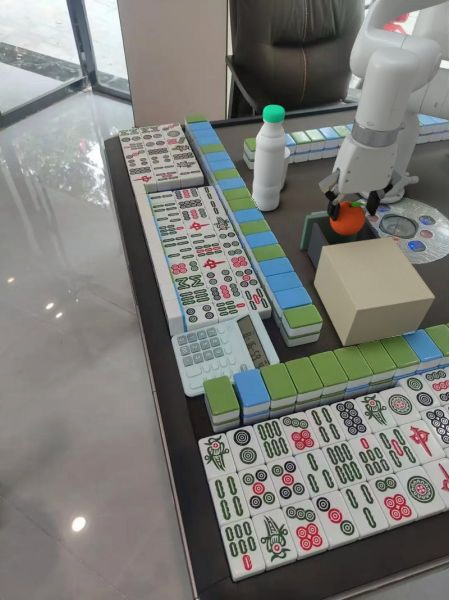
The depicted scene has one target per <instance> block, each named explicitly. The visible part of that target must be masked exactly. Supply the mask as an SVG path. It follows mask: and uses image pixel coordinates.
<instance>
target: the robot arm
mask: <svg viewBox="0 0 449 600" xmlns="http://www.w3.org/2000/svg"><path fill="white" fill-rule="evenodd" d="M413 12H418V15H417V17H416V19H415V23H414V25H413V28H412V32H411V34H408V33H405V32H404V33H403V32H397V31H391V30H386V29H384V28H385V26H386V25H388V24H389V23H390V22H392V21H393V20H396V19H397V18H399V17H401V16H404V15H407V14H410V13H413ZM442 61H446V62H449V0H374V1H373V2H372V4H371V6H369V8H368V11H367V12H366V14H365V17H364V19H363V21H362V24H361V26H360V28H359V31H358V33H357V35H356V37H355V40H354V42H353V46H352V48H351V52H350V57H349V68H350V71H351V73H352V74H353V75H354V76H355V77H356V78H359V79H362V80H363V84H362V88H361V92H360V96H359V100H358V105H357V108H356V113H355V116H354V121H353V124H352V128H351V132H350V133H349V134H346V135H345V137H344V139H343V141H342V143H341V145H340V147H339V151H338V153H337V156H336V157H335V158H336V159H335V162H334V165H333V168H332V172H331V174H329V175H328V176H327V177H325V178H323V179H322V180H321V181H319V182H318V184H317V185H318V187H319V189H320V191H321V192H322V193H323V195H324V196H325V197H326V199H327V200H328V204H327V207H326V208H327V209H326V211H327V214H328V215H329V216H330V217H331V219H332V221H336V220H337V218H338V214H339V210H340V203H341V202H342V200H343V198H344V197H345V196H346V195H349V194H355V193H356V194H358V195H360V196H361V197H362V198H364V199H366V203H365V205H366V206H367V207H366V206H364V208H365V209H366V211H367V212H368V214H369V215H370V217H375V216H376V213H377V211H378V209H379V207H380V204H391V203H396V202H398V201H401V199H402V198H403V196H405V192H406V189H405V187H406V186H408V185H414V184H418V183H419V180H420V178H419V176H418V175H413V176H410V173H409V172H408V171H407V169H408V167H409V164H410V161H411V158H412V156H413V153H414V150H415V147H416V145H417V142H418V139H419V136H420V133H421V122H420V119H419V116H418V115H424V116H428V117H432V118H436V119H440V120H447V121H449V68H446V67H441V65H442V64H441V63H442ZM334 184H335V185H334ZM332 185H334V186H332ZM330 187H332V188H331V189H330Z"/></svg>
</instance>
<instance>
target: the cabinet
mask: <svg viewBox="0 0 449 600" xmlns="http://www.w3.org/2000/svg"><path fill="white" fill-rule="evenodd" d="M313 286H314V288H315V290H316V292H317V294H318V296H319V298H320V300H321V302H322V304H323V306H324V308H325V310H326V312H327V315H328V316H329V317H328V318H329V319H330V321H331V324H332V325H333V327H334V329H335V331H336V333H337V336H338V337H339V339H340V342H341V344H342V346H343V347H349V346H354V345H360V344H366V343H371V342H370V341H372V342H376V341H375V340H377V341H381V340H380V339H383V338H387V337H392V336H396V335H402V334H404V333H407V332H411V331H416V330H418V328H419V327H420V326H421V323H422V321H423V320H424V318H425V317H426V315H427V313H428V312H429V310H430V308H431V306H432V304H433V302H434V300H435V299H436V296H435V295H434V293H433V292H432V291H431V289H430V288H429V287H428V285H427V284H426V283H425V281H424V280H423V278H422V277H421V275H420V274H419V273H418V271H417V269H416V268H415V267H414V266H413V264H412V262H411V261H410V260H409V258H408V257H407V255H406V254H405V253H404V252H403V250H402V249H401V248H400V246H399V244H398V243H397V242H396V241H395V239H394V237H393V236H387V237H380V238H379V239H372V240H365V241H357V242H350V243H343V244H336V245H329V246H323V247H322V252H321V256H320V260H319V264H318V268H317V270H316V272H315V277H314V281H313ZM416 332H417V331H416ZM383 340H384V339H383Z"/></svg>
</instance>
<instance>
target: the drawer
mask: <svg viewBox="0 0 449 600" xmlns="http://www.w3.org/2000/svg"><path fill="white" fill-rule="evenodd" d="M362 209H363V210H364V213H365V222H364V225H363V227H362V228H361V229H360V230H359V231H358V232H357V233H355V234H353V235H347V236H346V235H341V234H339V233H337V232H336V231H334V229H333V228H332V226H331V223H330V216H329V215H328V214H327V210H322V211H315V212H314V211H313V212H311V214H307V215H305V219H304V224H303V229H302V234H301V239H300V240H301V241H300V246H299V247H300V249H301V250H307V254H308V256H309V258H310V260H311V262H312V264H313V266H314V268H315V270H316V271H317V268H318V264H319V260H320V256H321V252H322V247H323V246H329V245H336V244H343V243H350V242H357V241H365V240H372V239H379V238H381V236H380V235H379V233H378V231H376V229H375V227H374V226H373V225H372V223H371V221H370V220H369V219H368V217H367V216H366V215H367V212H368V211H367V210H366V208H365V207H362Z"/></svg>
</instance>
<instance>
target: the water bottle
mask: <svg viewBox="0 0 449 600" xmlns="http://www.w3.org/2000/svg"><path fill="white" fill-rule="evenodd" d="M285 116H286V110H285V108H284V107H283V106H281V105H278V104H269V105H266V106H265V107H264V108H263V110H262V120H263V125H262V126H261V127H260V130H259V131H258V133H257V135H256V138H255V151H254V163H253V180H252V193H251V199H252V198H253V199H254V201H255V202H256V204H257V206H258V208H259V210H258V211H262V212H271V211H274V210H275V209H277V208H278V206H279V204H280V197H281V196H280V193H281V190H282V189H281V178H282V173H283V166H284V158H285V146H286V147H287V143H288V142H287V141H288V140H287V135H286V133H285V129H284V127H283V124H282V123H283V122H284V121H285ZM280 189H281V190H280Z"/></svg>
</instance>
